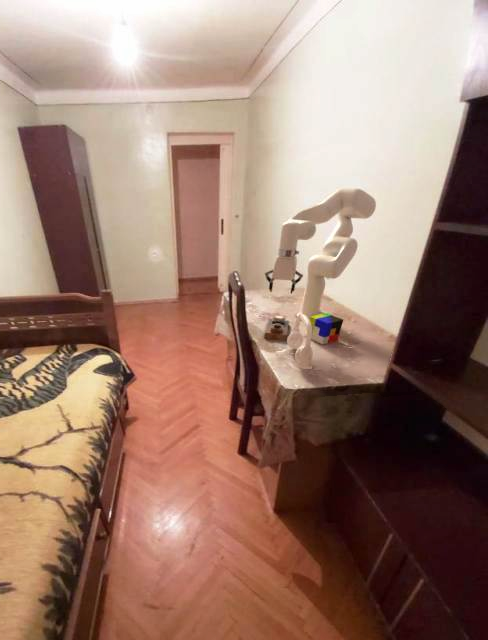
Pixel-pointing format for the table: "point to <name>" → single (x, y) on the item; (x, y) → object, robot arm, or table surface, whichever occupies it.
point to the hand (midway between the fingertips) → (281, 291)
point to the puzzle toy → (325, 328)
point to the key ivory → (279, 318)
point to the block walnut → (276, 332)
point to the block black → (283, 322)
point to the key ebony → (277, 325)
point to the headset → (296, 340)
